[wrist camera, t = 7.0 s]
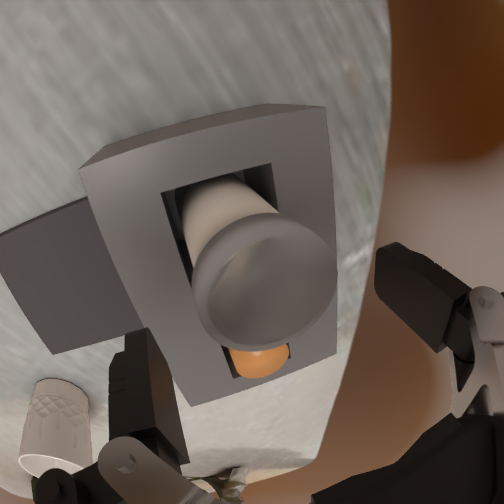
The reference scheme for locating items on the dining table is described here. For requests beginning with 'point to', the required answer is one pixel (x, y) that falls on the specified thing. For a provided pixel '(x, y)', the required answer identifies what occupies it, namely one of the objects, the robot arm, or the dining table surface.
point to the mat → (66, 279)
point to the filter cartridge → (252, 266)
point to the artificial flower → (229, 485)
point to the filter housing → (172, 237)
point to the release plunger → (259, 361)
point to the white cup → (56, 429)
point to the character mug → (34, 488)
